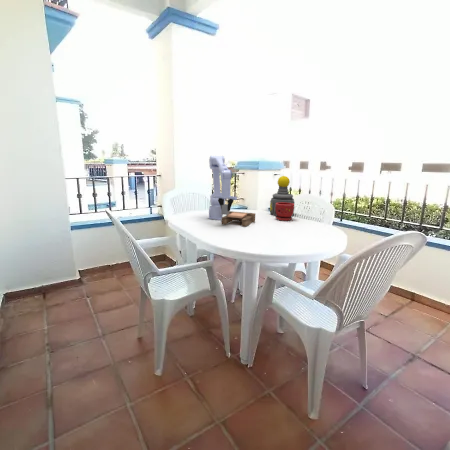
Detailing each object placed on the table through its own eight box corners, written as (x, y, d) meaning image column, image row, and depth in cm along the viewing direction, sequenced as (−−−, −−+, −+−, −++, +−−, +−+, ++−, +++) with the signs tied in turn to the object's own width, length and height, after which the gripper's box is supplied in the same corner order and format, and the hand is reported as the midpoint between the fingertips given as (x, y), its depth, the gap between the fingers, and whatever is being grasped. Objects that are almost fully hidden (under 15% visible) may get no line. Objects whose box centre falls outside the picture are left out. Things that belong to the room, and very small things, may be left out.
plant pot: (295, 221, 192) (296, 204, 189) (276, 221, 192) (277, 204, 189) (291, 217, 204) (292, 201, 202) (273, 217, 205) (274, 201, 202)
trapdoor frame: (219, 224, 182) (219, 215, 180) (228, 219, 196) (228, 211, 195) (248, 227, 175) (248, 217, 173) (255, 221, 189) (255, 213, 188)
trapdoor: (227, 216, 181) (227, 215, 181) (233, 214, 190) (233, 212, 190) (242, 218, 178) (242, 216, 177) (246, 215, 187) (246, 213, 186)
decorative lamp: (275, 217, 205) (278, 176, 198) (265, 212, 223) (267, 175, 216) (298, 216, 210) (301, 176, 203) (286, 211, 228) (289, 175, 220)
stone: (221, 214, 176) (221, 205, 175) (223, 213, 180) (223, 204, 178) (227, 214, 175) (227, 205, 173) (229, 213, 178) (229, 204, 177)
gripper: (212, 189, 172) (212, 210, 176) (234, 190, 167) (234, 212, 170) (217, 188, 179) (217, 208, 182) (238, 189, 174) (237, 210, 177)
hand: (225, 210), depth 177 cm, fingers closed on stone, 4 cm apart
